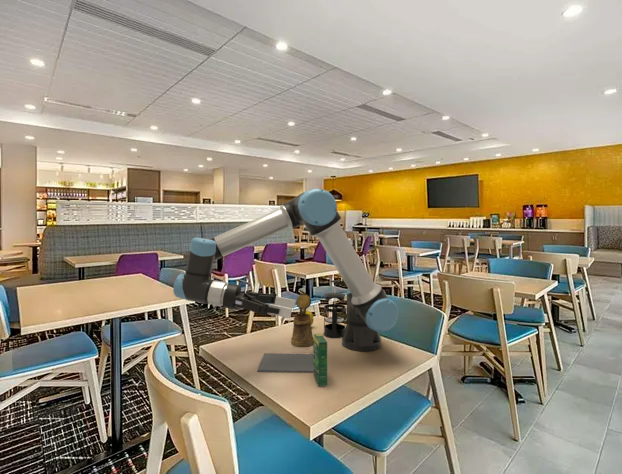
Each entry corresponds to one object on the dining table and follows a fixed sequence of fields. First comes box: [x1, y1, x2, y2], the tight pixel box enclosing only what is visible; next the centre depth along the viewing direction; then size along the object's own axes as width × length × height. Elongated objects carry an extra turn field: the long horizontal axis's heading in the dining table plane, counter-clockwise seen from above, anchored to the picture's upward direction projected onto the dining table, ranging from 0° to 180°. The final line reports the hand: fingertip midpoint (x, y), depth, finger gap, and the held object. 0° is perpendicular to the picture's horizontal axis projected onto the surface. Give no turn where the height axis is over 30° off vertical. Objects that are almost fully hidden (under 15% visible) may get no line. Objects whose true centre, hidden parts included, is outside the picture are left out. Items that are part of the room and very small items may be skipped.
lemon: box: [306, 309, 314, 326], centre depth 155 cm, size 6×6×8 cm
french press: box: [323, 279, 347, 339], centre depth 147 cm, size 12×9×23 cm
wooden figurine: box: [291, 292, 313, 348], centre depth 138 cm, size 9×14×18 cm, turn 176°
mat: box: [256, 352, 314, 374], centre depth 117 cm, size 18×14×1 cm
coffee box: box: [312, 333, 328, 387], centre depth 104 cm, size 8×3×13 cm, turn 10°
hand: (293, 308), depth 106 cm, fingers open, 13 cm apart
